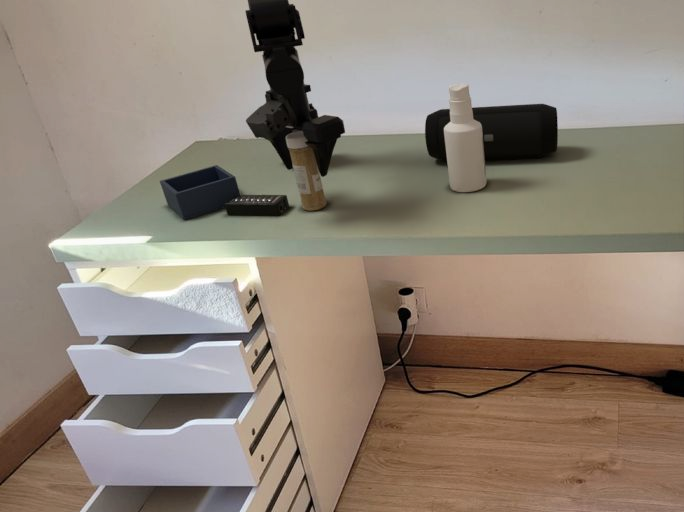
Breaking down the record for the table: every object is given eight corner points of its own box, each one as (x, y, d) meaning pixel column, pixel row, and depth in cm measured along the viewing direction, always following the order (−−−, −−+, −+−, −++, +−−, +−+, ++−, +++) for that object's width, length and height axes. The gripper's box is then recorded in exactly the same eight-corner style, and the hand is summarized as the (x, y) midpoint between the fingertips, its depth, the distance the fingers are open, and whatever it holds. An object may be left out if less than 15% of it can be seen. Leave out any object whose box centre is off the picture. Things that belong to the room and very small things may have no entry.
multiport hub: (238, 205, 135) (235, 194, 133) (290, 206, 132) (287, 194, 130) (226, 215, 131) (222, 203, 130) (279, 216, 128) (276, 203, 127)
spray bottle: (491, 180, 133) (483, 80, 123) (480, 193, 128) (471, 90, 118) (457, 179, 135) (446, 81, 126) (445, 192, 130) (433, 91, 120)
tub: (224, 189, 144) (216, 164, 141) (242, 202, 136) (235, 176, 133) (168, 205, 139) (159, 180, 136) (184, 220, 131) (175, 194, 128)
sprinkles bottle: (331, 206, 130) (315, 133, 122) (308, 213, 128) (290, 139, 120) (320, 200, 133) (305, 128, 126) (298, 207, 131) (281, 134, 124)
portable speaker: (428, 168, 142) (421, 118, 137) (437, 152, 150) (431, 104, 145) (555, 163, 137) (554, 110, 132) (558, 146, 146) (557, 96, 140)
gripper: (213, 90, 119) (238, 179, 127) (284, 99, 108) (307, 196, 117) (265, 74, 125) (286, 160, 134) (337, 81, 115) (355, 174, 124)
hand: (306, 172), depth 127 cm, fingers open, 9 cm apart
